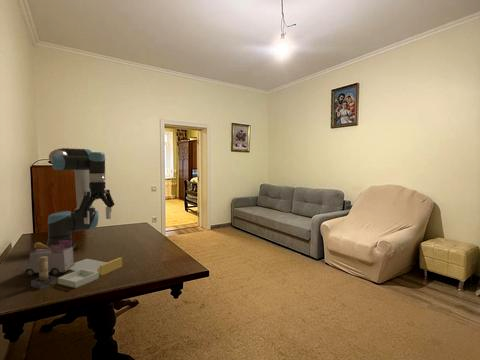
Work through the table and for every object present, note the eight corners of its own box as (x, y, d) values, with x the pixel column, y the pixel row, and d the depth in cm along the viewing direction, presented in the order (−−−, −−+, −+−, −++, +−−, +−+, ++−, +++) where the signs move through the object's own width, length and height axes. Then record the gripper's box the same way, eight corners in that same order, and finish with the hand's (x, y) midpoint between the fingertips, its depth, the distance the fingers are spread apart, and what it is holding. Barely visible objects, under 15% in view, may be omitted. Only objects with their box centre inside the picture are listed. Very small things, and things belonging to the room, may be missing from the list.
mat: (61, 268, 130) (61, 267, 130) (86, 259, 143) (86, 258, 143) (98, 276, 121) (98, 275, 121) (122, 266, 134) (122, 265, 134)
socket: (31, 286, 110) (30, 280, 110) (47, 280, 116) (46, 275, 116) (40, 289, 108) (40, 283, 108) (56, 282, 114) (56, 277, 114)
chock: (97, 274, 122) (97, 265, 122) (117, 265, 133) (117, 257, 133) (101, 275, 121) (101, 266, 121) (122, 266, 132) (122, 257, 132)
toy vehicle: (34, 268, 128) (32, 239, 127) (75, 267, 130) (74, 238, 128) (20, 277, 119) (17, 246, 118) (65, 276, 121) (63, 245, 119)
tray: (58, 284, 112) (58, 277, 112) (82, 274, 123) (81, 268, 123) (75, 289, 108) (75, 282, 108) (98, 278, 119) (98, 272, 118)
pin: (37, 285, 111) (36, 258, 111) (45, 282, 114) (44, 255, 114) (42, 286, 110) (41, 259, 110) (50, 283, 113) (49, 256, 113)
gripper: (81, 183, 124) (82, 226, 125) (120, 180, 147) (121, 217, 149) (69, 182, 126) (70, 225, 127) (110, 180, 150) (111, 216, 151)
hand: (98, 221), depth 138 cm, fingers open, 13 cm apart
